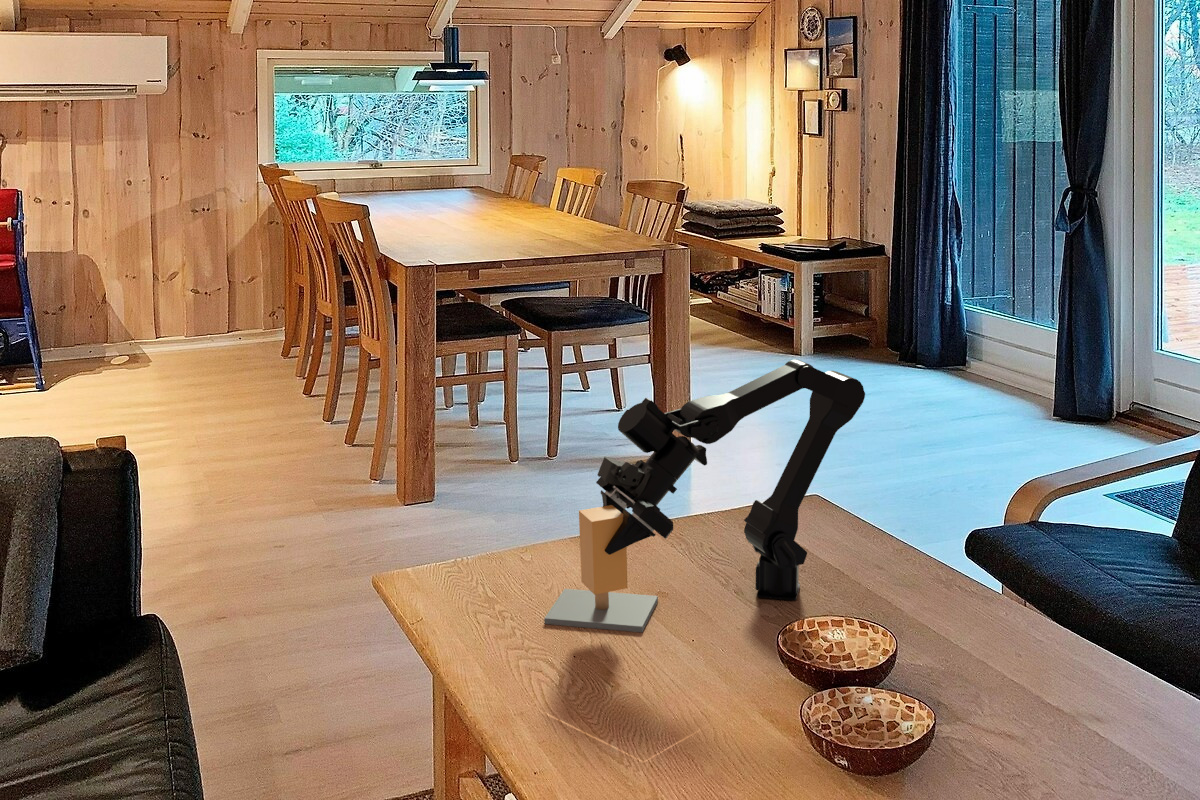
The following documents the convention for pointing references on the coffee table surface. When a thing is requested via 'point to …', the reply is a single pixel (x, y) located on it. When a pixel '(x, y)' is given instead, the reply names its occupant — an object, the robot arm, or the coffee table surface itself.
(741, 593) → the coffee table surface
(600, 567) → the tall amber pillar
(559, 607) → the post board
